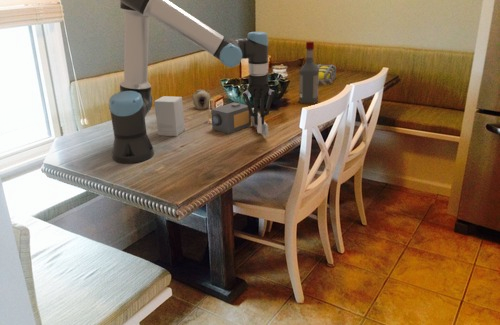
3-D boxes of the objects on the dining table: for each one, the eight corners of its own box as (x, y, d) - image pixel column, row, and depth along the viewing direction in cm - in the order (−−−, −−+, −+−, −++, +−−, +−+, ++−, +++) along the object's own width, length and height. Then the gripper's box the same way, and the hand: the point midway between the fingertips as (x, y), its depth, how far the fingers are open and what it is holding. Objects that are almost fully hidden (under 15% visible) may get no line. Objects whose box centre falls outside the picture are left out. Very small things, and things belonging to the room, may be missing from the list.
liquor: (318, 99, 235) (320, 40, 223) (316, 104, 227) (318, 43, 215) (301, 98, 237) (302, 40, 225) (298, 103, 229) (299, 43, 217)
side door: (268, 139, 179) (268, 122, 176) (265, 140, 179) (265, 122, 176) (254, 124, 198) (254, 107, 195) (251, 124, 198) (251, 108, 195)
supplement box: (185, 129, 195) (182, 96, 189) (177, 136, 187) (173, 101, 181) (166, 128, 197) (163, 95, 191) (157, 135, 189) (153, 100, 183)
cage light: (337, 63, 284) (331, 73, 258) (337, 76, 287) (330, 86, 261) (315, 62, 288) (305, 72, 262) (314, 75, 291) (305, 85, 265)
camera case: (226, 134, 187) (225, 112, 184) (210, 129, 194) (208, 107, 190) (251, 125, 198) (250, 104, 194) (234, 121, 204) (234, 100, 200)
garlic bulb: (194, 112, 228) (187, 93, 225) (208, 106, 232) (201, 88, 230) (202, 110, 220) (195, 91, 217) (216, 104, 224) (209, 85, 222)
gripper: (273, 71, 175) (273, 128, 185) (240, 72, 174) (242, 130, 183) (276, 74, 169) (277, 134, 178) (242, 76, 167) (244, 136, 176)
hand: (259, 132), depth 180 cm, fingers closed
